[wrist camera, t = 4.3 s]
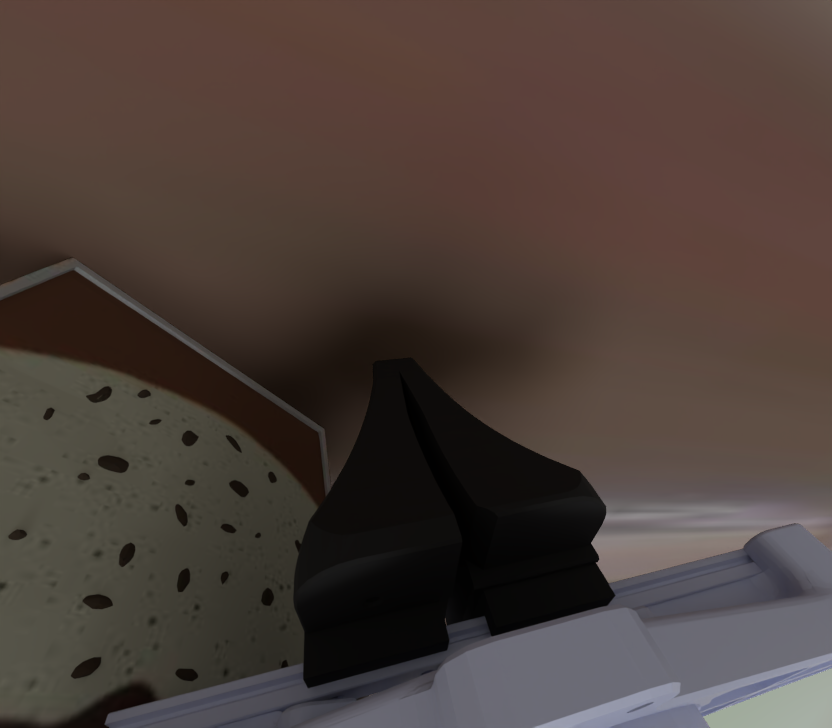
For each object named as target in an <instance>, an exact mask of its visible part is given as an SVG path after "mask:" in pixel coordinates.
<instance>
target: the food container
mask: <svg viewBox="0 0 832 728" xmlns="http://www.w3.org/2000/svg"><path fill="white" fill-rule="evenodd" d="M330 490H331V481H330V472H329V463H328V455H327V446H326V437H325V429H324V428H322V427H321V426H319V425H318V424H316V423H315V422H313V421H312V420H310V419H309V418H307V417H306V416H304V415H303V414H302V413H300V412H299V411H297V410H296V409H294V408H293V407H291V406H290V405H288V404H287V403H285V402H284V401H283V400H281V399H280V398H278V397H277V396H275V395H274V394H272V393H271V392H269V391H268V390H266V389H265V388H263V387H262V386H261V385H259V384H258V383H256V382H255V381H253V380H252V379H250V378H249V377H247V376H246V375H244V374H243V373H241V372H240V371H239V370H237V369H236V368H234V367H233V366H231V365H230V364H228V363H227V362H225V361H224V360H222V359H221V358H220V357H218V356H217V355H215V354H214V353H212V352H211V351H209V350H208V349H206V348H205V347H203V346H202V345H200V344H199V343H198V342H196V341H195V340H193V339H192V338H190V337H189V336H187V335H186V334H184V333H183V332H181V331H180V330H178V329H177V328H176V327H174V326H173V325H171V324H170V323H168V322H167V321H165V320H164V319H162V318H161V317H159V316H158V315H157V314H155V313H154V312H152V311H151V310H149V309H148V308H146V307H145V306H143V305H142V304H140V303H139V302H137V301H136V300H135V299H133V298H132V297H130V296H129V295H127V294H126V293H124V292H123V291H121V290H120V289H118V288H117V287H115V286H114V285H113V284H111V283H110V282H108V281H107V280H105V279H104V278H102V277H101V276H99V275H98V274H96V273H95V272H93V271H92V270H91V269H89V268H88V267H86V266H85V265H83V264H82V263H80V262H79V261H77V260H76V259H74V258H73V257H72V258H69V259H67V260H64V261H62V262H59V263H56V264H54V265H51V266H49V267H46V268H43V269H41V270H38V271H35V272H33V273H30V274H28V275H25V276H22V277H20V278H17V279H14V280H12V281H9V282H7V283H4V284H1V285H0V728H109V727H108V726H106V725H105V722H106V719H107V716H108V714H109V713H112V712H115V711H119V710H123V709H127V708H131V707H135V706H139V705H142V704H146V703H150V702H154V701H158V700H162V699H166V698H169V697H173V696H177V695H181V694H185V693H189V692H192V691H196V690H200V689H204V688H208V687H212V686H216V685H219V684H223V683H227V682H231V681H235V680H239V679H243V678H246V677H250V676H254V675H258V674H262V673H266V672H270V671H273V670H277V669H281V668H285V667H289V666H293V665H297V664H300V663H304V630H303V627H302V625H301V622H300V620H299V618H298V615H297V613H296V611H295V608H294V602H293V593H294V575H295V568H296V563H297V558H298V554H299V550H300V547H301V543H302V540H303V537H304V534H305V531H306V528H307V525H308V522H309V520H310V519H311V517H312V516H313V514H314V513H315V512H316V510H317V509H318V507H319V506H320V504H321V503H322V502H323V500H324V499H325V497H326V496H327V494H328V493H329V491H330ZM368 696H369V695H367V696H364V697H360V698H357V699H356V700H357V701H358V700H360V699H363V698H366V697H368Z"/></svg>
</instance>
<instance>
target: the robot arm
mask: <svg viewBox="0 0 832 728" xmlns="http://www.w3.org/2000/svg"><path fill="white" fill-rule="evenodd" d="M605 516H606V506H605V504H604V503H603V501H602V500H601V499H600V497H599V496H598V494H597V493H596V491H595V490H594V488H593V487H592V486H591V484H590V483H589V482H588V481H587V479H586V478H585V477H584V476H583V474H582V473H581V472H580V471H579V470H576V469H574V468H571V467H569V466H566V465H564V464H561V463H559V462H556V461H554V460H551V459H549V458H546V457H544V456H542V455H540V454H538V453H536V452H534V451H532V450H530V449H527V448H525V447H523V446H521V445H520V444H518V443H516V442H514V441H512V440H510V439H508V438H507V437H505V436H503V435H502V434H500V433H498V432H497V431H495V430H493V429H492V428H490V427H488V426H487V425H485V424H484V423H483V422H481V421H480V420H478V419H477V418H475V417H474V416H473V415H471V414H470V413H469V412H467V411H466V410H465V409H464V408H462V407H461V406H460V405H459V404H458V403H456V402H455V401H454V400H453V399H452V398H451V397H450V396H448V395H447V394H446V393H445V392H444V391H443V390H442V389H441V388H440V387H439V386H438V385H437V384H436V383H435V382H434V381H433V380H432V379H431V378H430V377H429V376H428V375H427V374H426V373H425V372H424V371H423V369H422V368H421V367H420V366H419V365H418V364H417V363H416V362H415V360H413V359H412V358H403V359H393V360H384V361H376V362H375V363H374V364H373V387H372V392H371V397H370V402H369V406H368V409H367V412H366V416H365V419H364V422H363V425H362V428H361V431H360V433H359V436H358V438H357V440H356V443H355V445H354V447H353V449H352V451H351V454H350V456H349V458H348V460H347V462H346V464H345V466H344V467H343V469H342V471H341V473H340V474H339V476H338V478H337V479H336V481H335V483H334V485H333V486H332V488H331V490H330V491H329V493H328V494H327V496H326V497H325V499H324V500H323V502H322V503H321V504H320V506H319V507H318V509H317V510H316V512H315V513H314V514H313V516H312V517H311V519H310V520H309V522H308V525H307V528H306V531H305V534H304V537H303V540H302V543H301V547H300V550H299V554H298V558H297V563H296V568H295V575H294V593H293V602H294V608H295V611H296V613H297V615H298V618H299V620H300V622H301V625H302V627H303V630H304V663H300V664H297V665H293V666H289V667H285V668H281V669H277V670H273V671H270V672H266V673H262V674H258V675H254V676H250V677H246V678H243V679H239V680H235V681H231V682H227V683H223V684H219V685H216V686H212V687H208V688H204V689H200V690H196V691H192V692H189V693H185V694H181V695H177V696H173V697H169V698H166V699H162V700H158V701H154V702H150V703H146V704H142V705H139V706H135V707H131V708H127V709H123V710H119V711H115V712H112V713H109V714H108V716H107V719H106V722H105V725H106V726H108V727H109V728H710V727H709V726H708V724H707V722H706V721H705V719H704V718H703V716H706V715H709V714H711V713H714V712H716V711H719V710H722V709H724V708H727V707H729V706H732V705H735V704H737V703H740V702H743V701H745V700H748V699H750V698H753V697H756V696H758V695H761V694H764V693H766V692H769V691H771V690H774V689H777V688H779V687H782V686H785V685H787V684H790V683H793V682H795V681H798V680H801V679H803V678H806V677H809V676H812V675H814V674H817V673H820V672H823V671H825V670H828V669H831V668H832V551H831V550H829V549H828V548H827V547H826V546H825V545H824V544H822V543H821V542H820V541H819V540H818V539H817V538H815V537H814V536H813V535H812V534H811V533H810V532H809V531H807V530H806V529H805V528H804V527H803V526H802V525H800V524H796V523H794V524H790V525H786V526H782V527H778V528H774V529H770V530H766V531H764V532H761V533H759V534H757V535H756V536H754V537H753V538H752V539H750V540H749V541H748V542H747V543H746V544H745V545H744V548H743V549H740V550H736V551H732V552H728V553H725V554H721V555H717V556H713V557H709V558H705V559H701V560H698V561H694V562H690V563H686V564H682V565H678V566H674V567H671V568H667V569H663V570H659V571H655V572H651V573H647V574H644V575H640V576H636V577H632V578H628V579H624V580H620V581H617V582H613V583H609V584H608V582H607V580H606V579H605V577H604V575H603V574H602V572H601V571H600V569H599V567H598V566H597V564H596V562H598V560H599V556H598V554H597V552H596V551H595V549H594V548H593V546H592V544H591V542H592V540H593V539H594V537H595V535H596V534H597V532H598V530H599V529H600V527H601V525H602V524H603V521H604V519H605ZM445 618H446V623H447V626H446V624H445ZM374 693H376V694H374ZM371 694H373V695H371ZM367 695H371V696H368V697H366V698H363V699H360V700H358V701H357V700H356V699H357V698H360V697H364V696H367Z"/></svg>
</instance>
